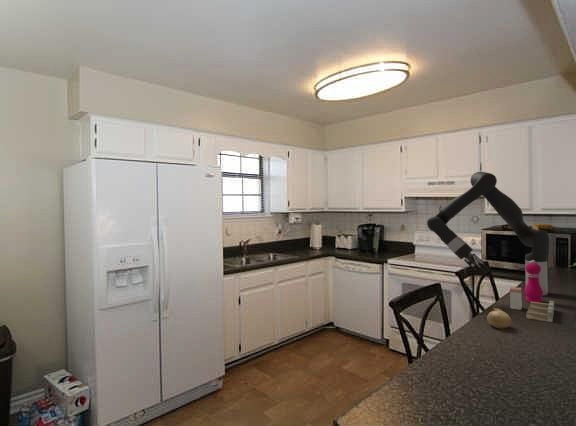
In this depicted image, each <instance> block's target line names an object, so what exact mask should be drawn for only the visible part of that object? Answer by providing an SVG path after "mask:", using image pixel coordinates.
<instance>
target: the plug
mask: <svg viewBox="0 0 576 426" xmlns="http://www.w3.org/2000/svg"><path fill="white" fill-rule="evenodd" d="M522 297H523V296H522V287H517V286H515V287H514V286H511V287H510V288H509V301H510V303H509V305H510V309H512V310H519V311H522V308H523V298H522Z"/></svg>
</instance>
